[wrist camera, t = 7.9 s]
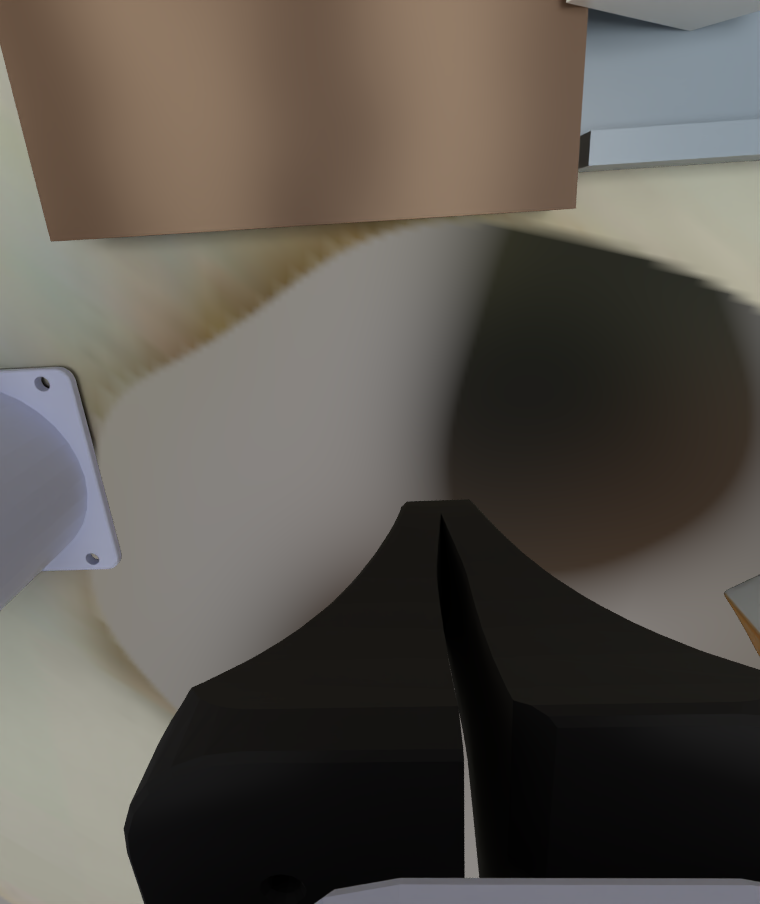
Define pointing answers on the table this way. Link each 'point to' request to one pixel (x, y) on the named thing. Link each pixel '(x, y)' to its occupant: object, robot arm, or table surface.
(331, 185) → the walnut plate
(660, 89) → the tray
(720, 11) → the block
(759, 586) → the small box
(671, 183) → the table surface
